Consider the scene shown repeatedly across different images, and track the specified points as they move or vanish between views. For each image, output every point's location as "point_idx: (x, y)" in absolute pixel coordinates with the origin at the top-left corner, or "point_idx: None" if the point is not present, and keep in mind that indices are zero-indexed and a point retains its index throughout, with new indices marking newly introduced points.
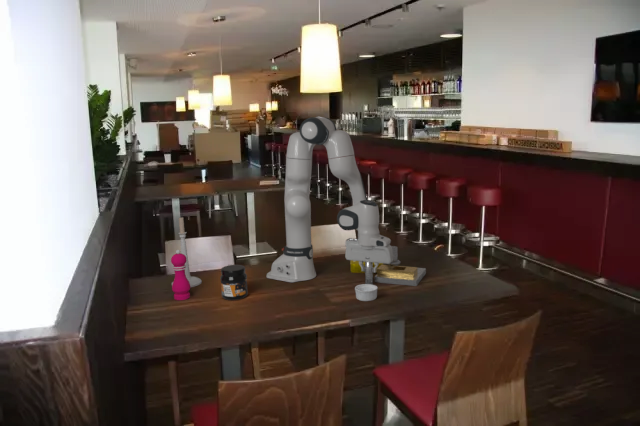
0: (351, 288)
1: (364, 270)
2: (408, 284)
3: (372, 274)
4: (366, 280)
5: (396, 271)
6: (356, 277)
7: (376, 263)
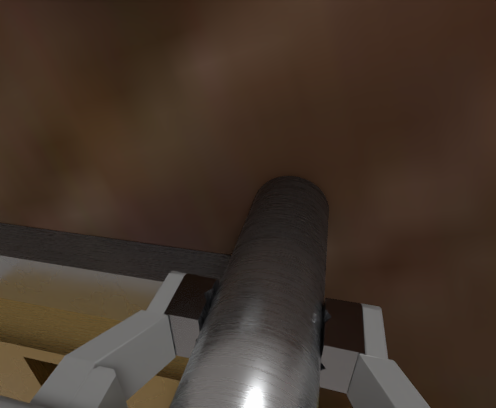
0: (486, 12)
1: (330, 308)
2: (6, 228)
3: (227, 265)
4: (305, 203)
5: (71, 348)
6: (446, 343)
7: (59, 391)
